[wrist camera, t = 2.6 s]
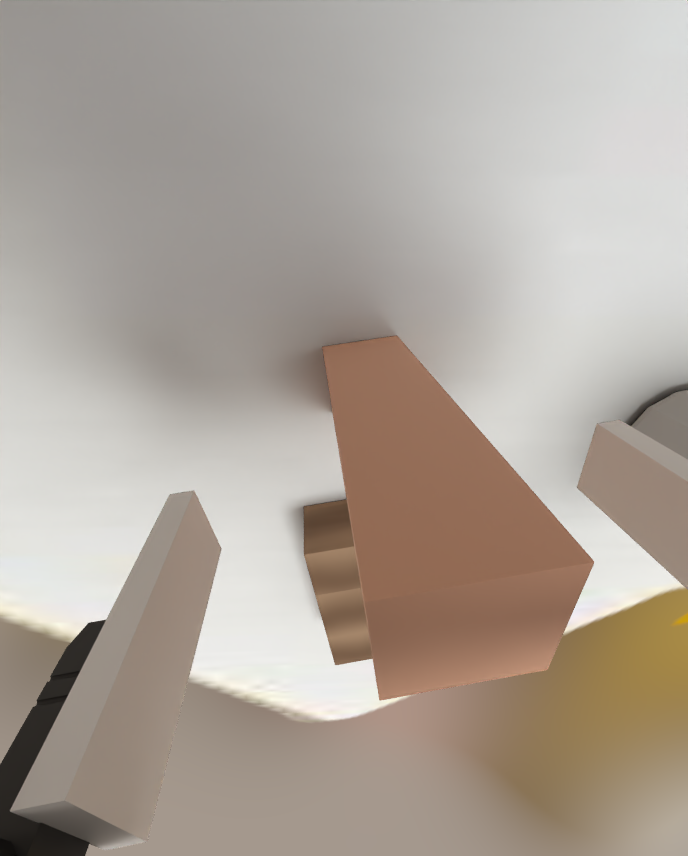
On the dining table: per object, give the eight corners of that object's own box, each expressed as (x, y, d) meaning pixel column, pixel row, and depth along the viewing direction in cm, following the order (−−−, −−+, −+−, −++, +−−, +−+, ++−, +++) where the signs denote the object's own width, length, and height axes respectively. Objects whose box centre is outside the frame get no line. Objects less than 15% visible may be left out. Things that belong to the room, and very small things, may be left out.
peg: (322, 346, 18) (364, 601, 6) (396, 335, 18) (594, 561, 6) (332, 412, 20) (379, 700, 8) (399, 402, 20) (547, 669, 8)
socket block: (303, 506, 23) (303, 554, 20) (499, 474, 24) (532, 516, 20) (331, 616, 30) (335, 665, 27) (480, 590, 31) (502, 635, 27)
